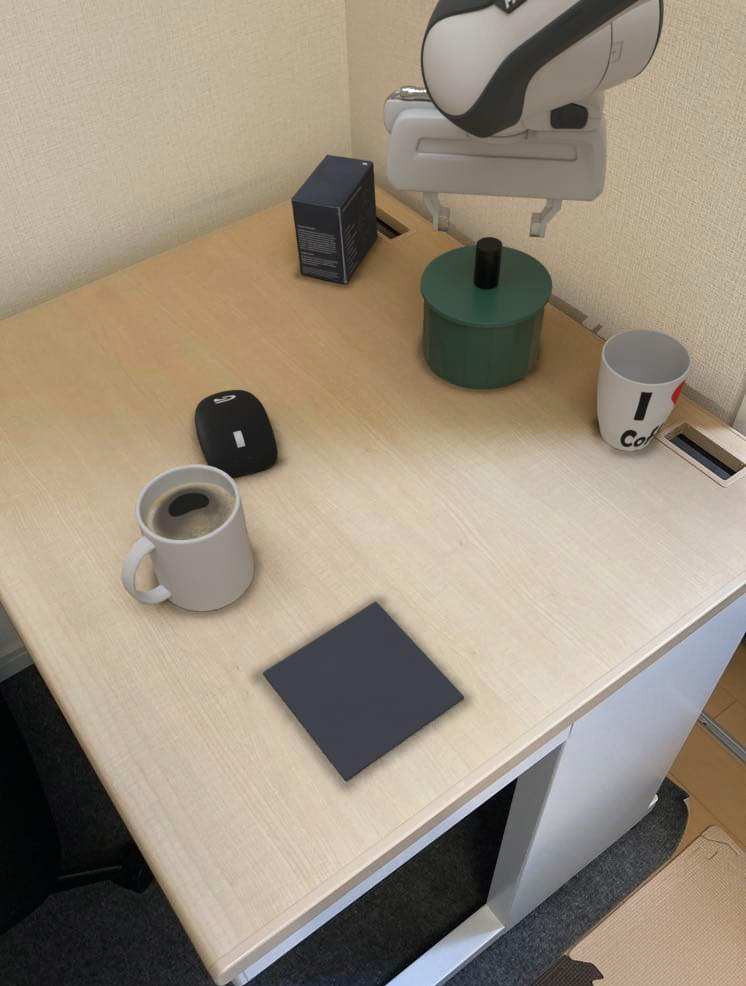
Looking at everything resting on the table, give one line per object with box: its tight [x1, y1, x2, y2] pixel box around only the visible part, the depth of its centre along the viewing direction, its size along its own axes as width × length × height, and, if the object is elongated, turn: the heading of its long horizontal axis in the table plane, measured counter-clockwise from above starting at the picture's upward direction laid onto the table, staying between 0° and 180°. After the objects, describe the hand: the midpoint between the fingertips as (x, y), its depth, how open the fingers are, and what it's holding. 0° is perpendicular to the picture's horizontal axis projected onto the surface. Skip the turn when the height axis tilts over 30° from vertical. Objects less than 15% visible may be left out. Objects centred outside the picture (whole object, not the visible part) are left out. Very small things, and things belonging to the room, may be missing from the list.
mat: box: [262, 601, 465, 782], centre depth 76 cm, size 12×12×1 cm
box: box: [290, 154, 379, 284], centre depth 110 cm, size 11×7×10 cm, turn 157°
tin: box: [422, 300, 546, 390], centre depth 98 cm, size 13×13×8 cm
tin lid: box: [419, 236, 553, 328], centre depth 93 cm, size 14×14×6 cm
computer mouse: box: [194, 389, 279, 479], centre depth 93 cm, size 8×12×4 cm, turn 18°
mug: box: [121, 463, 255, 612], centre depth 80 cm, size 11×10×10 cm
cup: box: [596, 328, 693, 452], centre depth 89 cm, size 8×8×10 cm
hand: (488, 231), depth 90 cm, fingers open, 8 cm apart
